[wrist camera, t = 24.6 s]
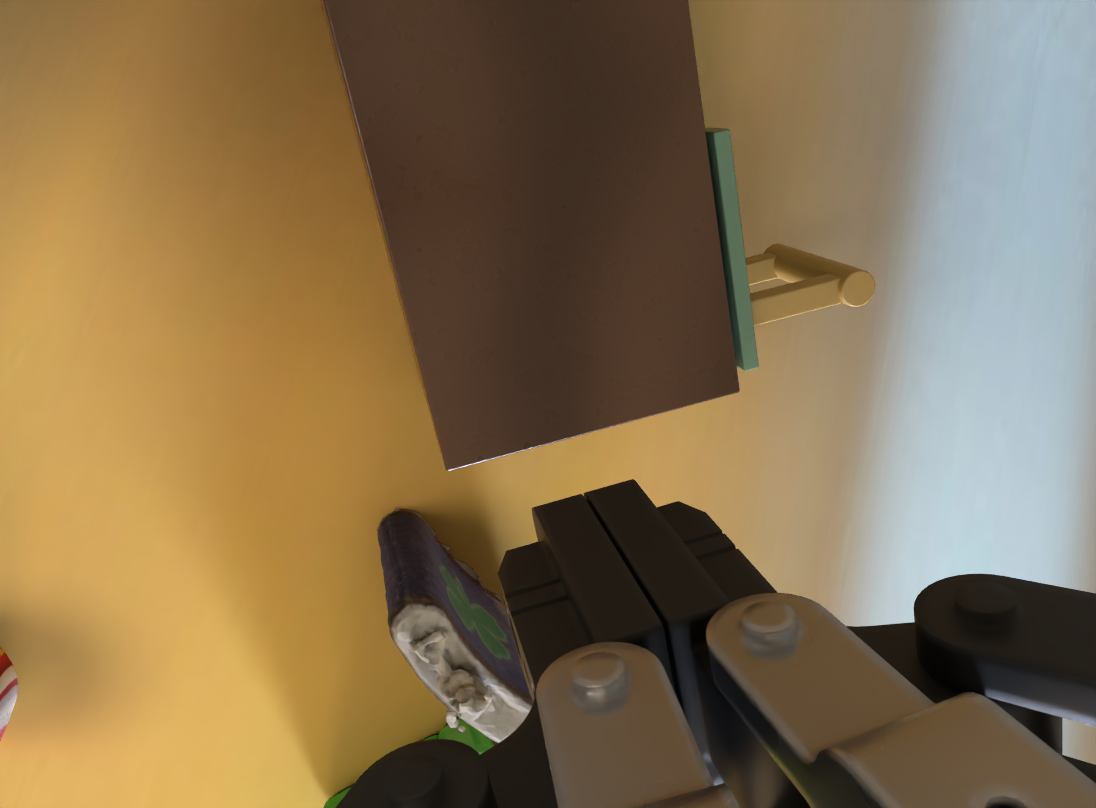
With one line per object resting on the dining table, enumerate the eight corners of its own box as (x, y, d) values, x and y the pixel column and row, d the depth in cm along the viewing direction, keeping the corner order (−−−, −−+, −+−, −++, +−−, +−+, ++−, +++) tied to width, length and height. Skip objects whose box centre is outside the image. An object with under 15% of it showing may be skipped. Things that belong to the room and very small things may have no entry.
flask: (521, 618, 47) (568, 758, 37) (477, 653, 47) (512, 801, 37) (407, 496, 43) (424, 612, 33) (359, 533, 43) (362, 661, 33)
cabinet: (421, 382, 42) (446, 472, 31) (309, -43, 35) (295, -104, 25) (675, 317, 43) (779, 382, 33) (611, -100, 37) (713, -179, 27)
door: (659, 316, 42) (744, 372, 33) (628, 126, 39) (713, 132, 30) (774, 286, 43) (888, 333, 34) (753, 98, 40) (871, 96, 31)
